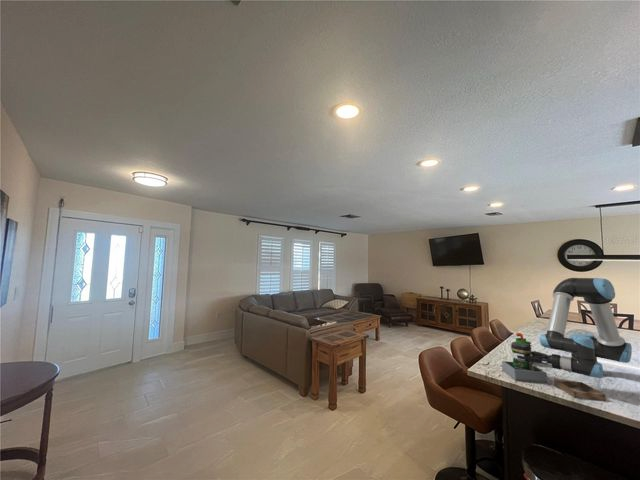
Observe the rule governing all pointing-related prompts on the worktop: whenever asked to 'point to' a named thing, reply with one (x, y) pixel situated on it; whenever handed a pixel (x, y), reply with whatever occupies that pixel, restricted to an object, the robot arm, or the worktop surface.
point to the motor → (522, 340)
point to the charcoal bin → (525, 373)
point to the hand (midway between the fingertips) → (514, 352)
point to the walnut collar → (590, 393)
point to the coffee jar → (522, 349)
